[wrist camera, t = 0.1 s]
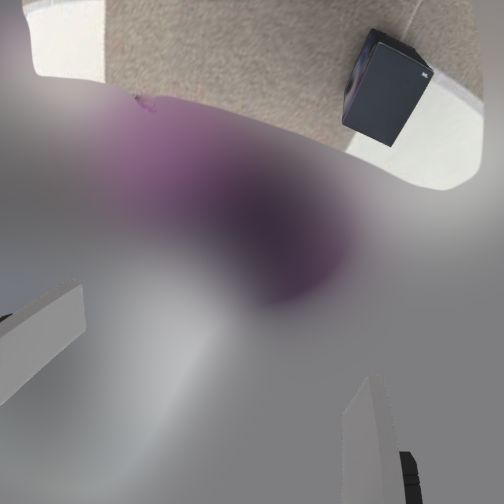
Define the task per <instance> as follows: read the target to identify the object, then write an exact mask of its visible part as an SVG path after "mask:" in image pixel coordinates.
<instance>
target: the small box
mask: <svg viewBox="0 0 504 504" xmlns="http://www.w3.org/2000/svg"><path fill="white" fill-rule="evenodd" d="M433 75H434V71H433V70H432V69H431V68H430V67H429V66H428V65H427V64H426V62H425V61H424V60H423V59H422V58H421V56H420V55H419V54H418V53H417V52H416V51H415V49H414V48H412V47H410V46H407V45H406V44H404V43H402V42H399V41H398V40H396V39H394V38H392V37H390V36H388V35H386V34H385V33H382V32H380V31H377V30H375V29H371V31H370V33H369V35H368V37H367V40H366V42H365V44H364V47H363V49H362V51H361V53H360V56H359V58H358V60H357V63H356V65H355V67H354V70H353V72H352V74H351V77H350V79H349V81H348V84H347V86H346V89H345V93H344V106H343V117H342V124H343V125H345V126H347V127H349V128H351V129H353V130H355V131H358V132H360V133H362V134H364V135H366V136H369V137H371V138H373V139H375V140H377V141H379V142H381V143H383V144H385V145H387V146H389V147H391V146H392V145H393V143H394V141H395V140H396V138H397V137H398V135H399V133H400V132H401V130H402V128H403V127H404V125H405V123H406V122H407V120H408V118H409V117H410V115H411V113H412V112H413V110H414V108H415V107H416V105H417V103H418V101H419V100H420V98H421V96H422V94H423V93H424V91H425V89H426V87H427V86H428V84H429V82H430V80H431V78H432V76H433Z"/></svg>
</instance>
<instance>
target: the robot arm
mask: <svg viewBox="0 0 504 504" xmlns="http://www.w3.org/2000/svg"><path fill="white" fill-rule="evenodd" d="M85 330H86V321H85V311H84V300H83V286H82V283H81V282H79V281H77V280H75V279H72V278H71V279H69V280H67V281H66V282H64V283H62V284H60V285H59V286H57V287H56V288H54V289H52V290H51V291H49V292H47V293H46V294H44V295H42V296H41V297H39V298H37V299H36V300H34V301H33V302H31V303H30V304H28V305H27V306H25V307H23V308H22V309H20V310H19V311H17V312H15V313H14V314H9V315H5V316H2V317H1V318H0V405H2V404H3V403H4V402H5V401H7V400H8V399H9V398H10V397H11V396H12V395H13V394H14V393H15V392H16V391H17V390H18V389H19V388H20V387H22V386H23V385H24V384H25V383H26V382H27V381H28V380H29V379H30V378H31V377H32V376H33V375H34V374H36V373H37V372H38V371H39V370H40V369H41V368H42V367H43V366H45V365H46V364H47V363H48V362H49V361H50V360H52V358H54V357H55V356H56V355H57V354H58V353H60V352H61V351H62V350H63V349H64V348H65V347H66V346H68V345H69V344H70V343H71V342H72V341H73V340H75V339H76V338H77V337H78V336H79V335H80V334H81V333H83V332H84V331H85ZM342 440H343V443H342V445H343V471H342V473H343V474H342V504H423V503H422V495H421V488H420V486H419V484H420V481H419V476H418V470H417V464H416V461H415V460H414V458H413V456H412V455H411V453H410V452H400V451H399V449H398V442H397V436H396V431H395V426H394V421H393V416H392V411H391V406H390V402H389V397H388V392H387V388H386V384H385V379H384V377H382V376H376V375H371V374H368V375H367V377H366V378H365V380H364V382H363V383H362V385H361V386H360V388H359V390H358V391H357V393H356V394H355V396H354V398H353V399H352V401H351V402H350V404H349V405H348V407H347V409H346V410H345V411H344V413H343V414H342Z"/></svg>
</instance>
